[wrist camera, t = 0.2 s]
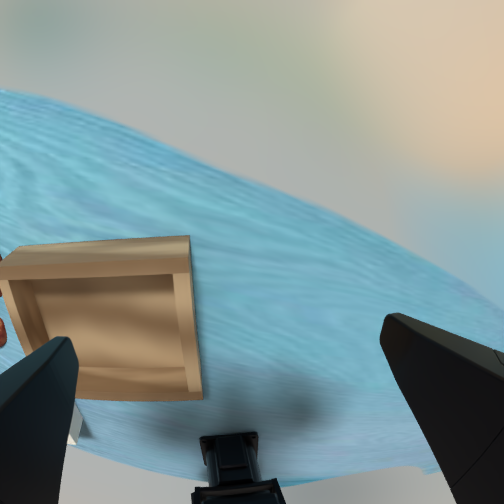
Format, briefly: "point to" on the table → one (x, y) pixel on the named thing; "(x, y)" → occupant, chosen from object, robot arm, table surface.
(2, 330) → the steak
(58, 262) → the walnut crate
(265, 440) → the table surface
